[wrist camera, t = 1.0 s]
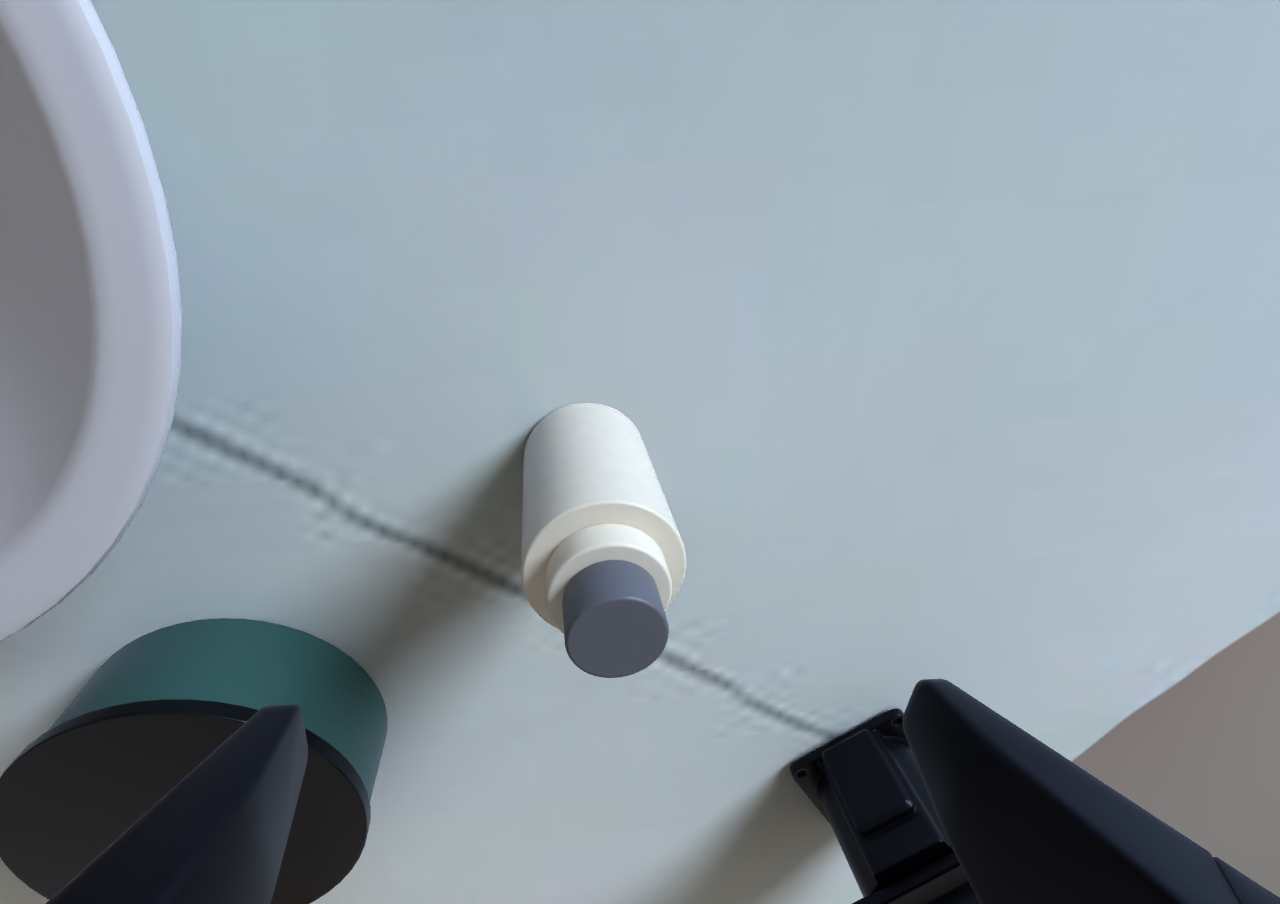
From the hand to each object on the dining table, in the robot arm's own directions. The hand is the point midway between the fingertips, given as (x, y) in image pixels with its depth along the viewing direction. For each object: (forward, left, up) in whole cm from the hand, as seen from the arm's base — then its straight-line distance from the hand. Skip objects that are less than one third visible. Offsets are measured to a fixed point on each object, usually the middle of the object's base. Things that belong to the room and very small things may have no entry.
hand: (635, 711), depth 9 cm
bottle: (-2, +1, -14) cm, 14 cm away
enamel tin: (-4, +19, -14) cm, 24 cm away
